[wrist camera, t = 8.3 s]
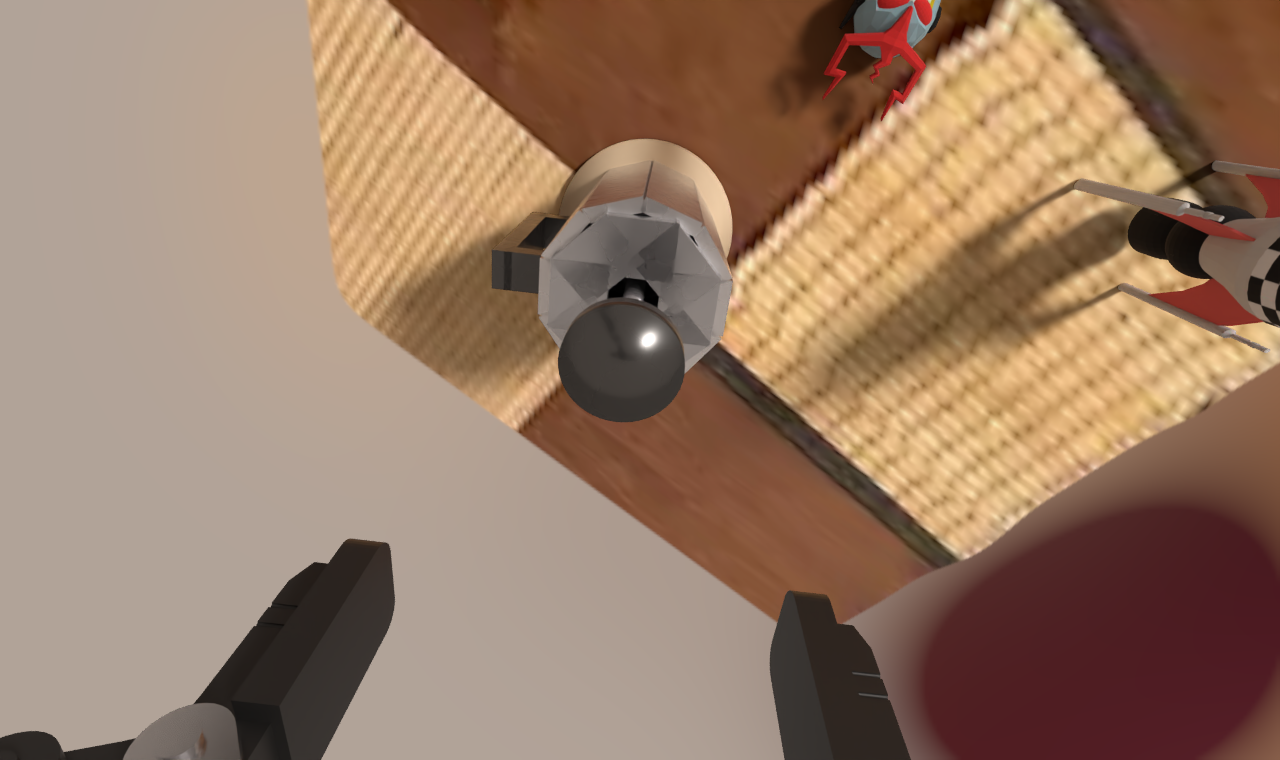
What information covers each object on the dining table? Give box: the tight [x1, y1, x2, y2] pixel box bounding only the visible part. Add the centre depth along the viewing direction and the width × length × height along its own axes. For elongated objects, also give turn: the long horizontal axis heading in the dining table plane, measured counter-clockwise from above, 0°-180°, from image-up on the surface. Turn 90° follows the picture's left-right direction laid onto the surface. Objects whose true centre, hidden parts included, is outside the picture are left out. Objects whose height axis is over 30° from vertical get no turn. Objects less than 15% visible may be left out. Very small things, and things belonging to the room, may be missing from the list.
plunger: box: [558, 213, 693, 422], centre depth 30 cm, size 6×6×18 cm
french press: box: [492, 160, 733, 374], centre depth 35 cm, size 12×10×15 cm
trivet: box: [559, 139, 732, 259], centre depth 43 cm, size 12×12×1 cm
